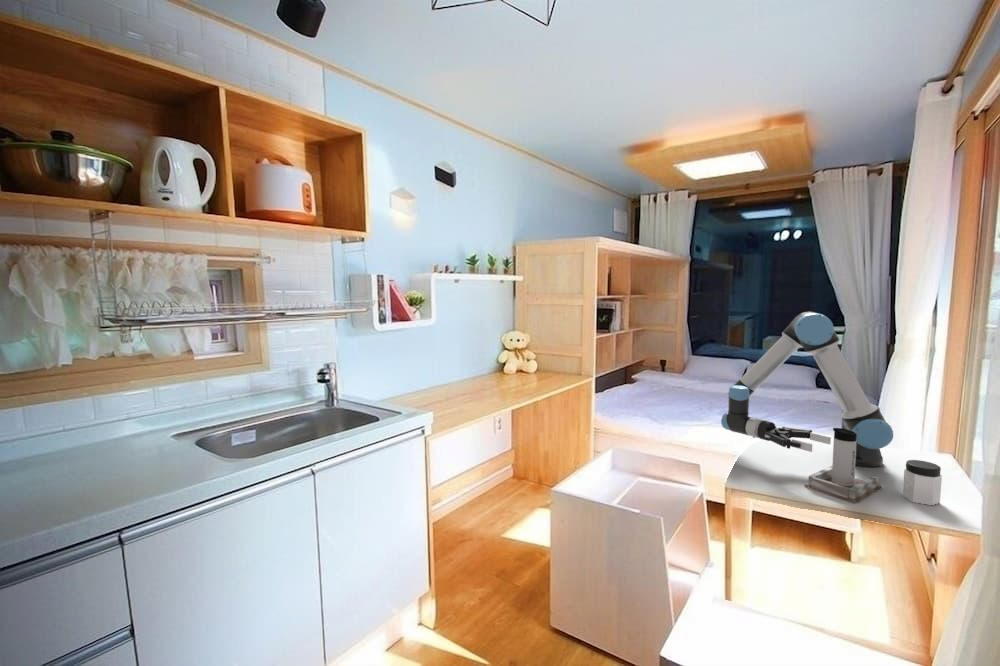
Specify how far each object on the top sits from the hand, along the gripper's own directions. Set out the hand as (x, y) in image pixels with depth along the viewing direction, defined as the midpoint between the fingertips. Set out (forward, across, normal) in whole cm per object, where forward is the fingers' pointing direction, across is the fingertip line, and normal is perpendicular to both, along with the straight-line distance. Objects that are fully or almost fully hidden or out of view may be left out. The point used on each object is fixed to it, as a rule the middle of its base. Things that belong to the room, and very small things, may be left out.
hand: (821, 444), depth 161 cm
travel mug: (+7, 0, -13) cm, 15 cm away
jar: (+25, -11, -14) cm, 30 cm away
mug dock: (+7, 0, -14) cm, 15 cm away
